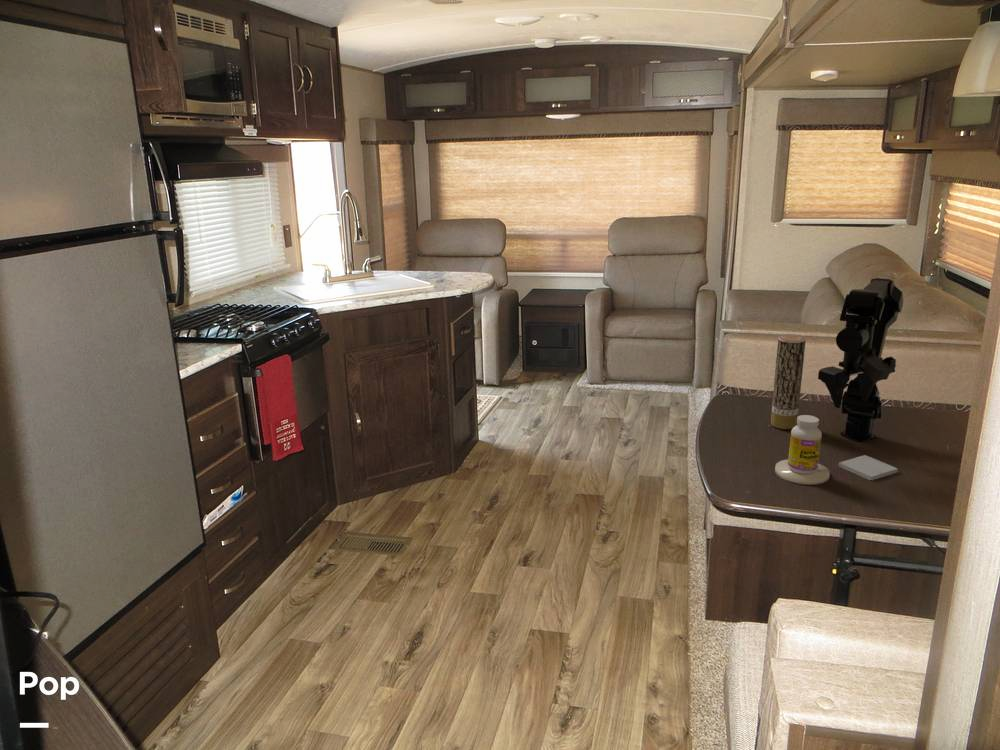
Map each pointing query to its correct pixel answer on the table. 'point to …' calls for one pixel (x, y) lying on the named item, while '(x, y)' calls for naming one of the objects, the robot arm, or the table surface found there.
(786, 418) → the paper tube
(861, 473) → the square tile
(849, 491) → the table surface
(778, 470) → the round coaster
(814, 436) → the supplement bottle
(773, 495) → the table surface
